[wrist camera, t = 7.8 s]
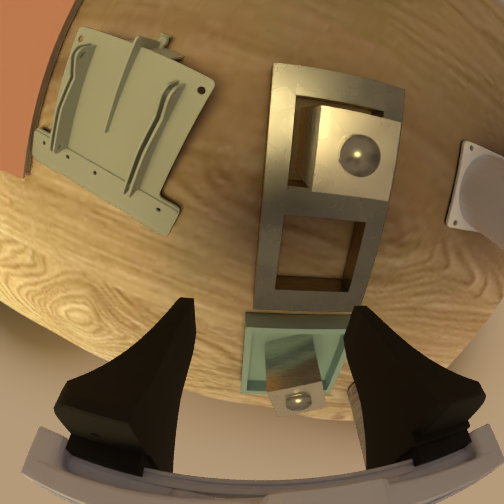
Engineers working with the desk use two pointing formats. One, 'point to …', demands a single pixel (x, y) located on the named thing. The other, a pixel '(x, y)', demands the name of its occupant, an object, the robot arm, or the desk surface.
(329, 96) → the grey holder frame
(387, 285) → the desk surface
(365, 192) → the nut block
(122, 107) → the metal bracket
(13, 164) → the notebook
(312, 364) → the nut block
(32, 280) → the desk surface
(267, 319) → the parts tray
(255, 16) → the desk surface
